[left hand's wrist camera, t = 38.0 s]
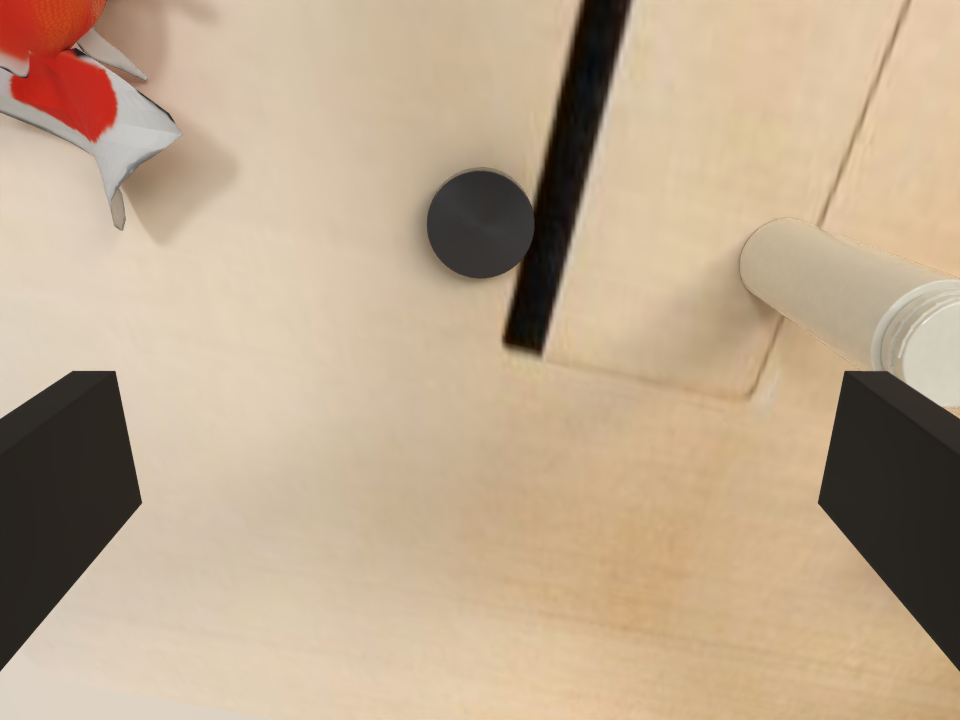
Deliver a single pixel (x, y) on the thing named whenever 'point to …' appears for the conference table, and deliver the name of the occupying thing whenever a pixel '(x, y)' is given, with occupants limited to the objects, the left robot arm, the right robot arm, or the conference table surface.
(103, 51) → the fish
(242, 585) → the conference table surface
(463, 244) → the lid
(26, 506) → the left robot arm
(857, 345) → the jar
